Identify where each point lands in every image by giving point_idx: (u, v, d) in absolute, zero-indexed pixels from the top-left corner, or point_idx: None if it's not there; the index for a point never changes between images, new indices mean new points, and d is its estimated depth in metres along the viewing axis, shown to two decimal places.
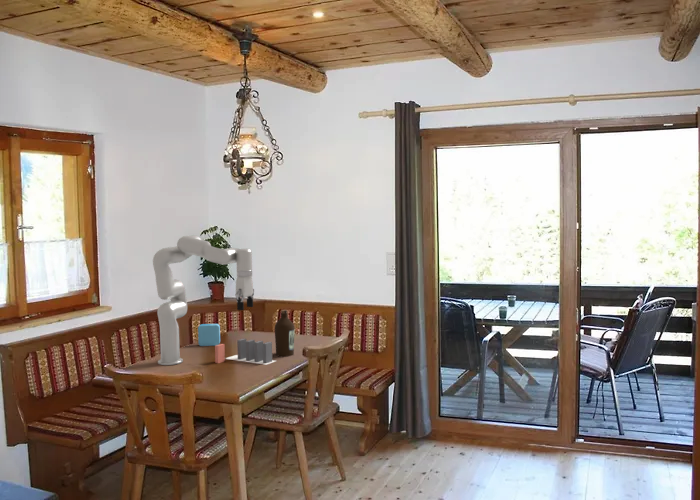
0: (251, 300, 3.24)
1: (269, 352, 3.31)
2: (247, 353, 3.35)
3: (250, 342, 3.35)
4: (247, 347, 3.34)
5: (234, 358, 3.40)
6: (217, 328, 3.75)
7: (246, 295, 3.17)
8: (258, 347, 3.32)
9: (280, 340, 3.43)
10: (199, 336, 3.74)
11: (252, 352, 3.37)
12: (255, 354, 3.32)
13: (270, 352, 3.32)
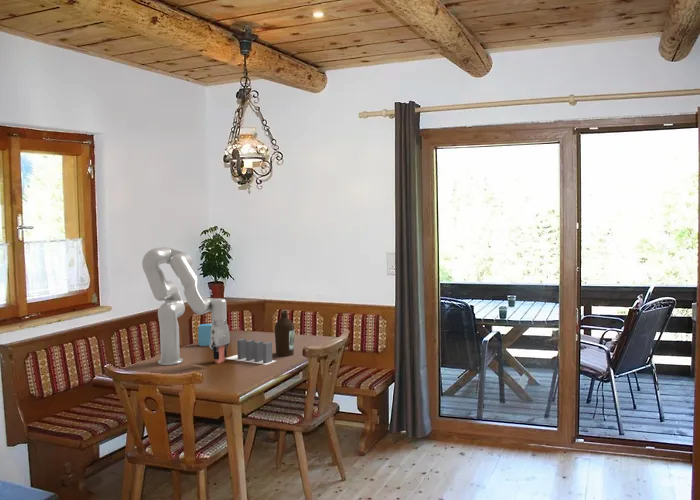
0: None
1: (269, 352, 3.31)
2: (247, 353, 3.35)
3: (250, 342, 3.35)
4: (247, 347, 3.34)
5: (234, 358, 3.40)
6: None
7: None
8: (258, 347, 3.32)
9: (280, 340, 3.43)
10: (199, 336, 3.74)
11: (252, 352, 3.37)
12: (255, 354, 3.32)
13: (270, 352, 3.32)
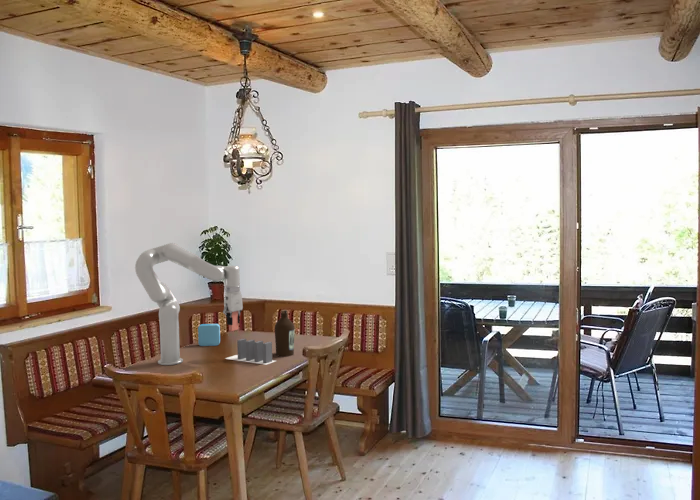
0: None
1: (269, 352, 3.31)
2: (247, 353, 3.35)
3: (250, 342, 3.35)
4: (247, 347, 3.34)
5: (234, 358, 3.40)
6: (217, 328, 3.75)
7: None
8: (258, 347, 3.32)
9: (280, 340, 3.43)
10: (199, 336, 3.74)
11: (252, 352, 3.37)
12: (255, 354, 3.32)
13: (270, 352, 3.32)
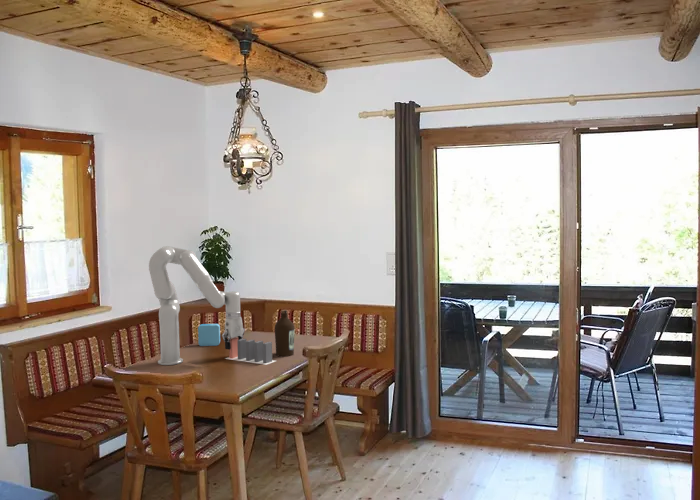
0: None
1: (269, 352, 3.31)
2: (247, 353, 3.35)
3: (250, 342, 3.35)
4: (247, 347, 3.34)
5: (234, 358, 3.40)
6: (217, 328, 3.75)
7: None
8: (258, 347, 3.32)
9: (280, 340, 3.43)
10: (199, 336, 3.74)
11: (252, 352, 3.37)
12: (255, 354, 3.32)
13: (270, 352, 3.32)
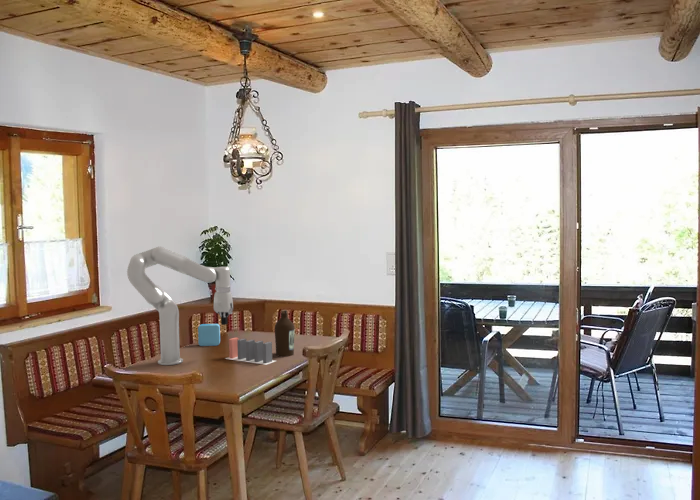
0: None
1: (269, 352, 3.31)
2: (247, 353, 3.35)
3: (250, 342, 3.35)
4: (247, 347, 3.34)
5: (234, 358, 3.40)
6: (217, 328, 3.75)
7: None
8: (258, 347, 3.32)
9: (280, 340, 3.43)
10: (199, 336, 3.74)
11: (252, 352, 3.37)
12: (255, 354, 3.32)
13: (270, 352, 3.32)
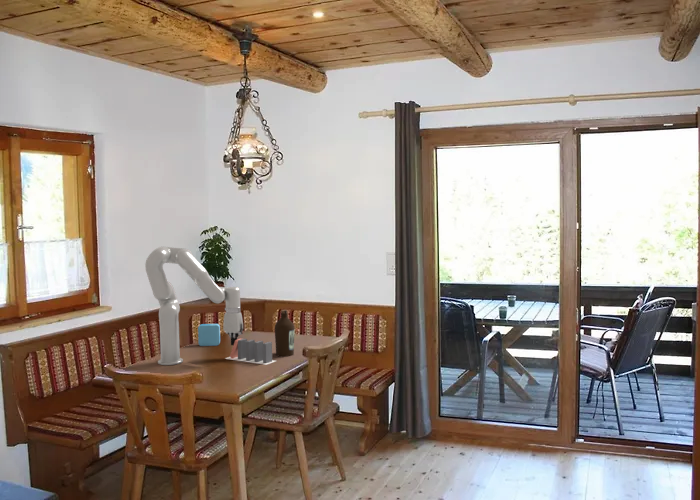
0: None
1: (269, 352, 3.31)
2: (247, 353, 3.35)
3: (250, 342, 3.35)
4: (247, 347, 3.34)
5: (234, 358, 3.40)
6: (217, 328, 3.75)
7: None
8: (258, 347, 3.32)
9: (280, 340, 3.43)
10: (199, 336, 3.74)
11: (252, 352, 3.37)
12: (255, 354, 3.32)
13: (270, 352, 3.32)
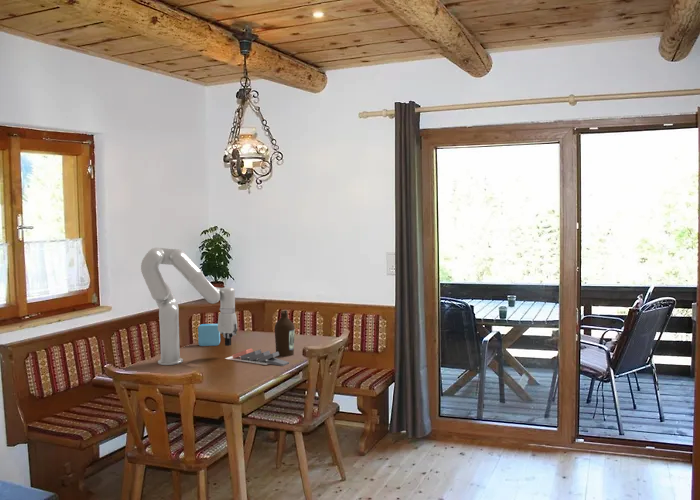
0: None
1: None
2: (254, 357, 3.32)
3: (265, 355, 3.31)
4: (259, 356, 3.31)
5: (234, 358, 3.40)
6: (217, 328, 3.75)
7: None
8: None
9: (280, 340, 3.43)
10: (199, 336, 3.74)
11: None
12: (263, 357, 3.30)
13: None
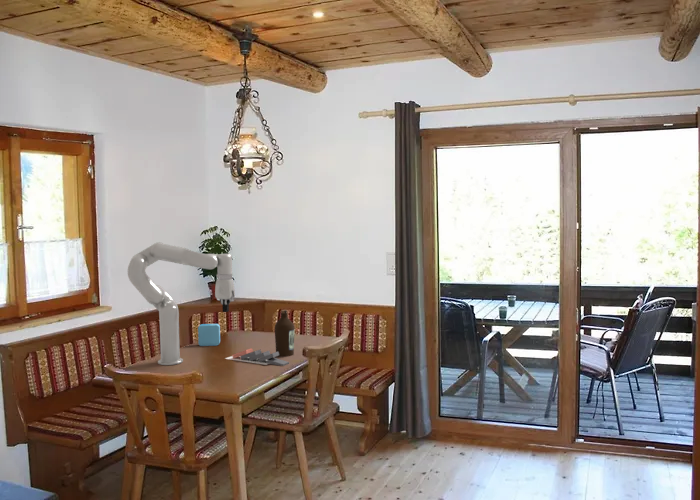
0: None
1: None
2: (254, 357, 3.32)
3: (265, 355, 3.31)
4: (259, 356, 3.31)
5: (234, 358, 3.40)
6: (217, 328, 3.75)
7: None
8: None
9: (280, 340, 3.43)
10: (199, 336, 3.74)
11: None
12: (263, 357, 3.30)
13: None
